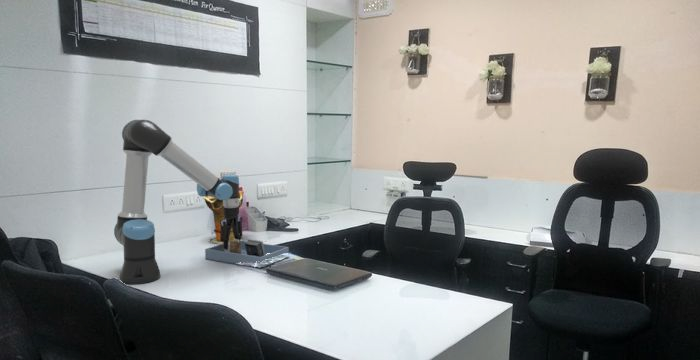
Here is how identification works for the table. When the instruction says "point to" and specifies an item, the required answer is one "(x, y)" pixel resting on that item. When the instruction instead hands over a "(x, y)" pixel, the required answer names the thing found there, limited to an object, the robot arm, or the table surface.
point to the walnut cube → (234, 247)
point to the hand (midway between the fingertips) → (231, 253)
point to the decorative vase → (220, 215)
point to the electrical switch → (255, 247)
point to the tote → (242, 253)
